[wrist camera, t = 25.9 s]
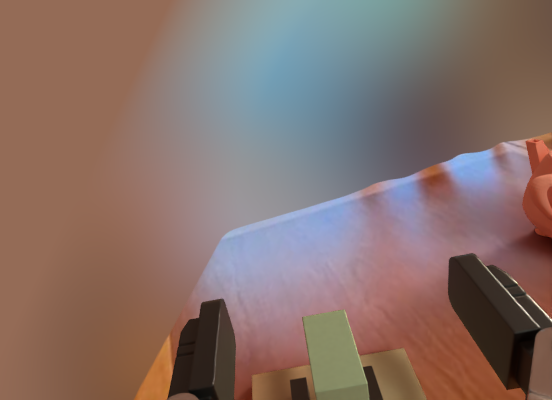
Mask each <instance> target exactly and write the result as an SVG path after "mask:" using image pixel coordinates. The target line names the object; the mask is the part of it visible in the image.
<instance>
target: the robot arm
mask: <svg viewBox="0 0 552 400" xmlns="http://www.w3.org/2000/svg"><path fill="white" fill-rule="evenodd" d="M448 295H449V299H450V302H451V305H452V307H453V309H454V311H455V312H456V314H457V315H458V317H459V318H460V320H461V321H462V323H463V324H464V326H465V327H466V329H467V330H468V332H469V333H470V335H471V336H472V338H473V339H474V341H475V342H476V344H477V345H478V347H479V348H480V350H481V351H482V353H483V354H484V356H485V357H486V359H487V360H488V362H489V363H490V365H491V366H492V368H493V369H494V371H495V372H496V374H497V375H498V377H499V378H500V380H501V381H502V383H503V384H504V386H505V387H506V389H507V390H509V389H515V388H520V387H521V389H522V390H523V391H524V393H525V394H526V398H525V400H552V319H551V318H550V317H549V316H548V315H547V314H546V313H545V312H544V311H543V310H542V309H541V308H540V307H539V306H538V304H537V303H536V302H535V301H534V300H533V299H532V298H531V297H530V296H529V295H527V294H526V292H525V291H524V290H523V289H522V288H521V287H520V286H518V283H517V282H516V281H515V280H514V279H513V278H512V277H511V276H510V275H509V274H508V273H506V272H505V271H503V270H501V269H499V268H497V267H496V266H494V265H490V266H485V265H484V264H483V263H482V261H481V260H480V259H479V258H478V257H477V256H476V255H475V254H473V253H471V254H466V255H460V256H455V257H451V258H450V259H449V276H448ZM235 354H236V343H235V335H234V330H233V327H232V324H231V321H230V317H229V314H228V311H227V308H226V304H225V302H224V300H223V299H217V300H212V301H206V302H202V304H201V309H200V315H199V318H196V319H191V320H189V321H188V322H187V324H186V325H185V327H184V328H183V330H182V331H181V335H180V340H179V347H178V350H177V358H176V360H175V365H174V370H173V375H172V380H171V385H170V390H169V395H168V398H167V400H234V382H235Z"/></svg>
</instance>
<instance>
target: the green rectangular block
mask: <svg viewBox="0 0 552 400" xmlns="http://www.w3.org/2000/svg"><path fill="white" fill-rule="evenodd" d="M302 320H303V326H304V332H305V337H306V343H307V349H308V355H309V361H310V367H311V373H312V379H313V385H314V391H315V396H316V400H369V393H368V384H367V380H366V377H365V374H364V370H363V367H362V364H361V361H360V358H359V354H358V351H357V348H356V345H355V341H354V338H353V335H352V332H351V328H350V325H349V322H348V319H347V316H346V312H345V310H339V311H333V312H328V313H322V314H316V315H311V316H305V317H302Z"/></svg>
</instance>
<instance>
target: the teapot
mask: <svg viewBox="0 0 552 400" xmlns="http://www.w3.org/2000/svg"><path fill="white" fill-rule="evenodd" d="M543 142H544V141H543V140H538V139H531V140H528V141H526V146H527V150H528V155H529V160H530V165H531V169H532V174H533V175H532V176H531V178H530V180H529V182H528V184H527V187H526V190H525V193H524V197H523V204H522V205H523V209H524V211H525V214H526V215H527V217H528V218H529V220H530V221H531V222H532V223H533V225H535V226H536V227H537V228H535V232H536V233H537V234H539V235H541V236H546V237H551V238H552V151H549V149H548V148H547V147H546V145H545V144H544V143H543Z"/></svg>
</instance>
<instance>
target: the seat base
mask: <svg viewBox="0 0 552 400" xmlns="http://www.w3.org/2000/svg"><path fill="white" fill-rule="evenodd" d="M359 358H360V361H361V364H362V367H363V370H364V374H365V377H366V380H367V384H368V393H369V400H427V399H426V396H425V394H424V392H423V390H422V387H421V385H420V383H419V381H418V379H417V376H416V374H415V372H414V370H413V367H412V365H411V363H410V361H409V358H408V356H407V354H406V352H405V349H404V348H400V349H395V350H389V351H384V352H378V353H372V354H367V355H361V356H359ZM252 400H316V396H315V391H314V385H313V379H312V373H311V367H310V365H305V366H300V367H294V368H288V369H283V370H277V371H272V372H266V373H261V374H255V375H252Z"/></svg>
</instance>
